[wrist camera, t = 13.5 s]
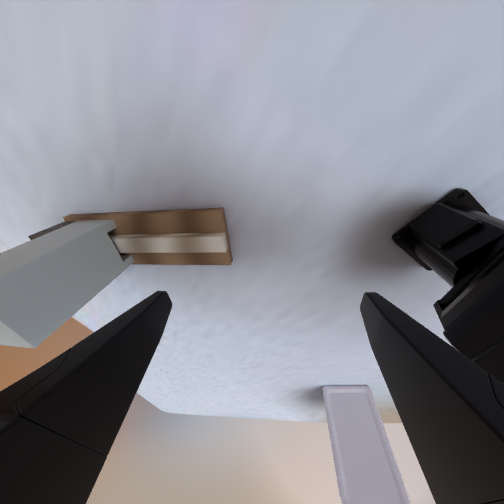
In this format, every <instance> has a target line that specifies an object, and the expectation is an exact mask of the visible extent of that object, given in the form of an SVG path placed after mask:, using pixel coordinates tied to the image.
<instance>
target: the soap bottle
mask: <svg viewBox="0 0 504 504" xmlns="http://www.w3.org/2000/svg"><path fill="white" fill-rule="evenodd" d="M322 391H323V397H324V403H325V409H326V415H327V421H328V427H329V433H330V439H331V445H332V451H333V457H334V463H335V469H336V475H337V482H338V488H339V493H340V497H341V500H342V503H343V504H411V502H410V499H409V496H408V493H407V490H406V488H405V485H404V482H403V479H402V476H401V473H400V471H399V468H398V465H397V462H396V459H395V457H394V454H393V451H392V448H391V445H390V443H389V440H388V437H387V434H386V431H385V429H384V426H383V423H382V420H381V417H380V414H379V411H378V409H377V406H376V403H375V400H374V397H373V395H372V392H371V389H370V388H369V386H366V385H348V386H323V388H322Z"/></svg>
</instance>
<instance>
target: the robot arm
mask: <svg viewBox="0 0 504 504" xmlns="http://www.w3.org/2000/svg"><path fill="white" fill-rule="evenodd" d="M460 193H461V194H460ZM458 194H460V195H459V196H458ZM457 196H458V197H457ZM398 237H400V238H399V239H397V238H398ZM392 240H393V241H394V242H395V243H396V244H397V245H398V246H400V247H401V248H402V249H403V250H404V251H405V252H407V253H408V254H409V255H410V256H411V257H412V258H414V259H415V260H416V261H417V262H418V263H419V264H420V265H422V266H423V267H424V268H425V269H426V270H433V271H435V272H436V273H437V274H438V275H439V276H440V277H441V278H443V279H444V280H445V281H446V282H447V283H448V284H449V285H450V286H452V287H453V288H452V289H451V290H450V291H449V292H448V293H447V294H446V295H445V296H444V297H443V298H442V299H441V300H438V301H437V302H436V303H435V304H434V307H435V310H436V312H437V314H438V316H439V319H440V321H441V323H442V325H443V328H444V330H445V331H444V332H443V334H444V336H445V338H446V339H447V340H448V341H449V343H450V344H451V345H452V346H453V347H452V346H450V345H449V344H448V343H446V342H445V341H443V340H442V339H441V338H439V337H438V336H436V335H435V334H434V333H432V332H431V331H430V330H428V329H427V328H425V327H424V326H423V325H421V324H420V323H418V322H417V321H416V320H414V319H413V318H411V317H410V316H409V315H407V314H406V313H404V312H403V311H402V310H400V309H399V308H397V307H396V306H395V305H393V304H392V303H390V302H389V301H388V300H386V299H385V298H384V297H382V296H381V295H379V294H378V293H376V292H366V293H364V295H363V299H362V302H361V305H360V310H361V314H362V318H363V321H364V324H365V328H366V331H367V335H368V338H369V341H370V345H371V348H372V350H373V353H374V355H375V358H376V360H377V362H378V365H379V367H380V370H381V372H382V375H383V377H384V379H385V382H386V384H387V387H388V389H389V391H390V394H391V396H392V399H393V401H394V403H395V406H396V408H397V411H398V413H399V416H400V418H401V420H402V423H403V425H404V428H405V430H406V432H407V435H408V437H409V440H410V442H411V444H412V447H413V449H414V451H415V454H416V457H417V459H418V461H419V464H420V466H421V469H422V471H423V473H424V476H425V478H426V480H427V483H428V485H429V488H430V490H431V492H432V495H433V498H434V500H435V502H436V504H504V221H503V220H500V219H498V218H495V217H493V216H490V215H489V214H488V213H487V212H486V211H485V209H484V208H483V207H482V206H481V205H480V204H479V203H478V202H477V201H476V199H475V198H474V197H473V196H472V195H471V194H470V193H469V192H468V191H467V190H465V189H456V190H455V191H453V192H452V193H450V194H449V195H448V196H446V197H445V198H443V199H442V200H441V201H439V202H438V203H437V204H435V205H434V206H432V207H431V208H430V209H428V210H427V211H426V212H424V213H423V214H421V215H420V216H419V217H417V218H416V219H415V220H413V221H412V222H410V223H409V224H408V225H406V226H405V227H403V228H402V229H401V230H399V231H398V232H397V233H395V234H394V235H393V236H392ZM171 308H172V302H171V300H170V298H169V295H168V293H167V292H166V291H157V292H155V293H154V294H152V295H151V296H149V297H147V298H146V299H144V300H143V301H141V302H140V303H138V304H137V305H135V306H134V307H132V308H131V309H129V310H128V311H126V312H125V313H123V314H122V315H120V316H119V317H117V318H115V319H114V320H112V321H111V322H109V323H108V324H106V325H105V326H103V327H102V328H100V329H99V330H97V331H96V332H94V333H93V334H91V335H90V336H88V337H86V338H85V339H84V340H82V341H80V342H79V343H77V344H76V345H75V346H73V347H72V348H70V349H68V350H67V351H65V352H64V353H62V354H61V355H59V356H57V357H56V358H54V359H53V360H51V361H50V362H48V363H46V364H45V365H43V366H42V367H40V368H38V369H37V370H35V371H34V372H32V373H30V374H29V375H27V376H25V377H24V378H22V379H20V380H19V381H17V382H15V383H14V384H12V385H10V386H9V387H7V388H5V389H4V390H2V391H0V504H86V502H87V500H88V498H89V495H90V493H91V491H92V489H93V486H94V484H95V482H96V480H97V478H98V475H99V473H100V471H101V469H102V467H103V465H104V462H105V460H106V458H107V455H108V453H109V451H110V449H111V446H112V444H113V442H114V440H115V438H116V436H117V434H118V432H119V429H120V427H121V425H122V423H123V421H124V418H125V416H126V414H127V412H128V410H129V407H130V405H131V403H132V401H133V399H134V396H135V394H136V392H137V390H138V388H139V385H140V383H141V381H142V379H143V377H144V374H145V372H146V370H147V368H148V366H149V364H150V361H151V359H152V357H153V355H154V353H155V350H156V348H157V346H158V344H159V342H160V339H161V337H162V334H163V332H164V329H165V326H166V323H167V320H168V317H169V314H170V311H171Z"/></svg>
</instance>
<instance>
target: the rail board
mask: <svg viewBox="0 0 504 504" xmlns="http://www.w3.org/2000/svg"><path fill="white" fill-rule="evenodd" d="M63 218H64V220H65V222H63V223H60V224H58V225H55V226H53V227H50V228H48V229H45V230H43V231H40V232H38V233H35V234H33V235H30V236H28V237H29V238H30V239H31V240H33V239H35V238H38V237H40V236H43V235H45V234H47V233H50V232H52V231H54V230H57V229H59V228H61V227H64V226H66V225H68V224H71V223H73V222H75V221H84V220H111V219H113V221H114V222H115V224H116V226H117V228H115V229H113V230H111V231H110V232H108V235H109V237H110V239H111V241H112V242H113V244H114V246H115V248H116V249H117V251H118V253H119V255H132V257H133V259H134V262H133V263H132V264H168V265H231V263H232V261H233V259H232V254H231V248H230V242H229V236H228V231H227V225H226V219H225V214H224V208H208V209H185V210H162V211H139V212H116V213H93V214H71V215H68V216H65V217H63Z"/></svg>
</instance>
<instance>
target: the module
mask: <svg viewBox="0 0 504 504" xmlns="http://www.w3.org/2000/svg"><path fill="white" fill-rule="evenodd" d="M115 228H117V226H116V224H115V222H114V221H113V219H111V220H84V221H75V222H73V223H71V224H68V225H66V226H64V227H61V228H59V229H57V230H54V231H52V232H50V233H47V234H45V235H43V236H40V237H38V238H35V239H33V240H31V241H28V242H26V243H24V244H21V245H19V246H17V247H14V248H12V249H10V250H7V251H5V252H3V253H0V345H8V346H18V347H29V348H36V347H37V346H38V345H39V344H40V343H41V342H43V341H44V340H45V339H46V338H47V337H49V335H51V334H52V333H53V332H54V331H55V330H57V329H58V328H59V327H60V326H61V325H62V324H63V323H65V322H66V321H67V320H68V319H69V318H70V317H71V316H73V315H74V314H75V313H76V312H77V311H78V310H79V309H81V308H82V307H83V306H84V305H85V304H86V303H87V302H89V301H90V300H91V299H92V298H93V297H94V296H95V295H97V294H98V293H99V292H100V291H101V290H102V289H104V288H105V287H106V286H107V285H108V284H109V283H110V282H112V281H113V280H114V279H115V278H116V277H117V276H118V275H120V274H121V273H122V272H123V271H124V270H125V269H126V268H128V267H129V266H130V265H131V264H132V263H133V262H134V259H133V257H132V255H119V253H118V251H117V249H116V248H115V246H114V244H113V242H112V241H111V239H110V237H109V235H108V232H110V231H111V230H113V229H115Z"/></svg>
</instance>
